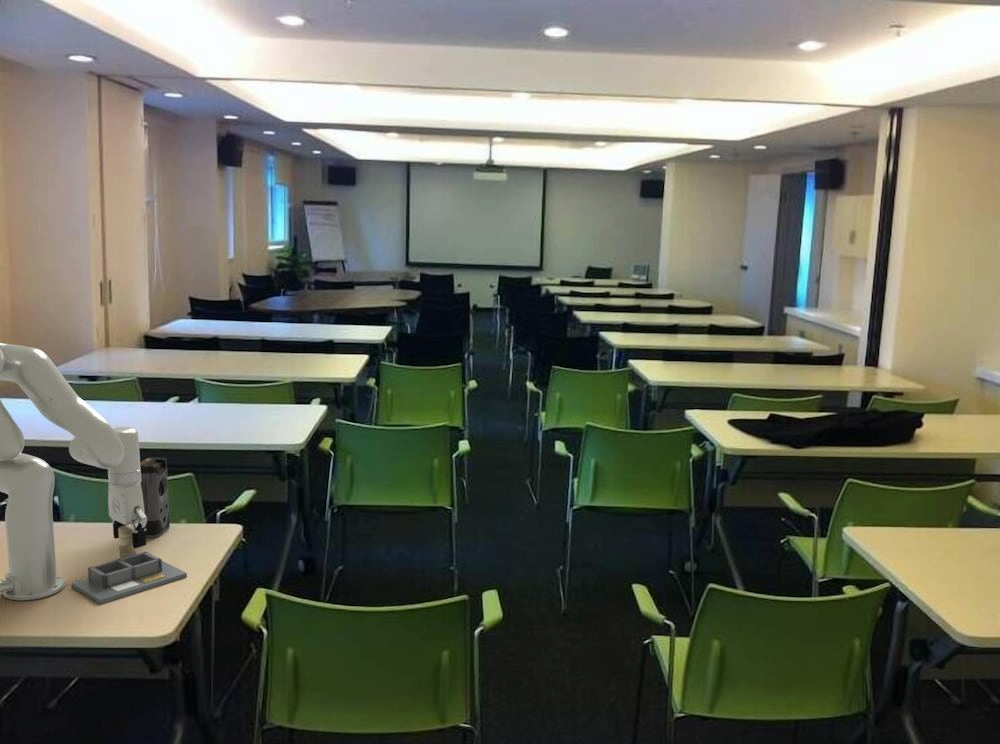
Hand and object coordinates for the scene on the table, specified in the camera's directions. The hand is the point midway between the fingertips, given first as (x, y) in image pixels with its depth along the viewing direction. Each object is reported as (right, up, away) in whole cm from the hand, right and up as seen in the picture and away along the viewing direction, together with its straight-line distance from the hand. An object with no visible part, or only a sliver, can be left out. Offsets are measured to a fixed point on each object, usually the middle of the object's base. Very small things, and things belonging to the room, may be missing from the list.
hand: (129, 541), depth 222 cm
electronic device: (-1, -1, +19) cm, 19 cm away
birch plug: (0, -4, 0) cm, 4 cm away
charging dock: (+6, -7, -14) cm, 17 cm away
